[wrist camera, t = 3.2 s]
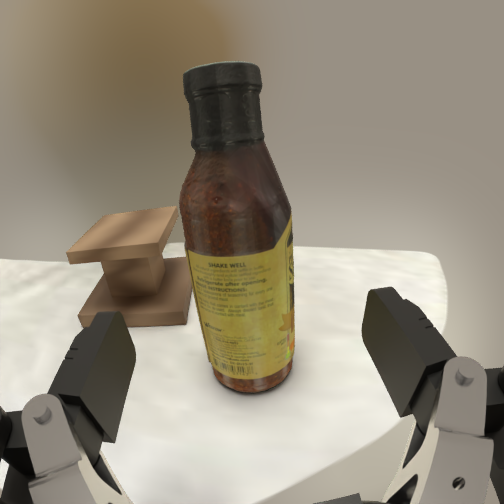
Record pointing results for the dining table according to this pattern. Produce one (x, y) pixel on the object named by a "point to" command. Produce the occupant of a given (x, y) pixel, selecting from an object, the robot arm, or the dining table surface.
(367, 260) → the dining table surface
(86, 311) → the walnut pedestal
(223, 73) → the sauce bottle
